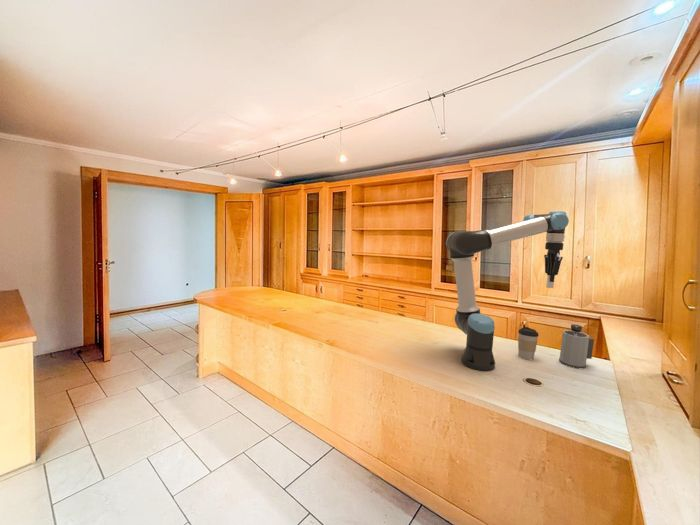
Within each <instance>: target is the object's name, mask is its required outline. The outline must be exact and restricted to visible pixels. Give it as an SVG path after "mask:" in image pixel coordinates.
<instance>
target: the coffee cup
mask: <svg viewBox="0 0 700 525" xmlns="http://www.w3.org/2000/svg"><path fill="white" fill-rule="evenodd" d="M517 333H518V338H517V339H518V340H517V350H518V357H519V358H521V359H523V358H524V360H528V359H532V360H534V358H535V354H536V351H537V345H538V339H539V338H538V337H539V332H538V331H537V330H536V329H534V328H530V327H529V326H524V327H521V328H520V329H518V332H517Z"/></svg>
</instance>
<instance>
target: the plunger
mask: <svg viewBox="0 0 700 525" xmlns="http://www.w3.org/2000/svg"><path fill="white" fill-rule="evenodd" d="M570 330H572V331H575V333H574V336H577V332H582V331H583V326H582V325H580V324H575V323H574V324H573V323H572V324H571V325H570ZM582 333H583V332H582Z"/></svg>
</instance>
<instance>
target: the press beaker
mask: <svg viewBox="0 0 700 525" xmlns="http://www.w3.org/2000/svg"><path fill="white" fill-rule="evenodd" d="M574 333H575V331H572V330H571V329H570V330H569V329H566V330H562V333H561V334H562V335H561V344H560V353H559V354H560V355H559V358H558V362H559V361H560V362H561V364H562V365H563V366H566V365H567V367H569V366H570V367H569V368H573V367H574V369H579V368H583V369H586V368H587V359H588V360H589V359H590V360H592V357H593V349H594V342H595V338H593V337H590V335H589V334H587V333H585V332H577V336H574ZM560 362H559V363H560Z"/></svg>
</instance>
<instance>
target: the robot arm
mask: <svg viewBox="0 0 700 525" xmlns="http://www.w3.org/2000/svg"><path fill="white" fill-rule="evenodd" d="M569 222H570V221H569V216H568V215H567V212H566V211H562V210H557V211H556V210H552V211H549V212H548V213H543V214H533V213H532V214H526V215H525V216H524V217H523V220H522V221H519V222H516V223H513V224H512V223H511V224H508V225H504V226H501V227H497V228H493V229H489V230H488V229H480V230H456V231H454V232H451V233H450V234H449V235H448V236H447V238H446V241H445V245H446V248H447V250H448V251H449V258H450V260H452V261H453V266H454V267H453V268H454V277H455V285H456V293H457V302H458V306H456V308H455V312H456V313H455V315H454V322H455V324H456V326H457V328H458V329H459V330H460V331H462V332H463V333H464V334H465V335H466V341H465V343H466V344H465V348H464V350H463V352H462V354H461V358H460V361H461V364H463V365H464V366H466V367H468V368H470V369H473V370H475V371H476V370H477V371H483V372H486V371H487V372H488V371H489V372H490V371H492V370H494V369H495V368H496V361H495V356H494V353H493V347H494V346H493V345H494V335H495V328H496V327H495V321H494V319H493V318H492V317H490V316H488V315H485V314H483V313H481V307H480V306H479V305H477V301H476V292H475V291H476V289H475V283H474V274H473V272H474V271H473V263H472V259H473V258H474V257H475V254H477V253H482V252H483V251H488V250H491V249H492V248H493V247H495V246H498V245H502V244H506V243H511V242H513V241H517V240H520V239H524V238H528V237H532V236H535V235H539V234H543V233H546V234H545V235H546V236H545V241H546V242H545V245H544V246H545V247H544V248H545V250H547V253H546V254H544V255H543V257H544V273H545V274H546V275H547V277H546V286H545V287H546V288H547V289H554V284H555V276H558V275H559V270H560V268H561V263H562V261H563V256H561V253H560V251H563V249H564V243H563V242H564V241H565V232H566V228H567V226H568V225H569Z"/></svg>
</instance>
